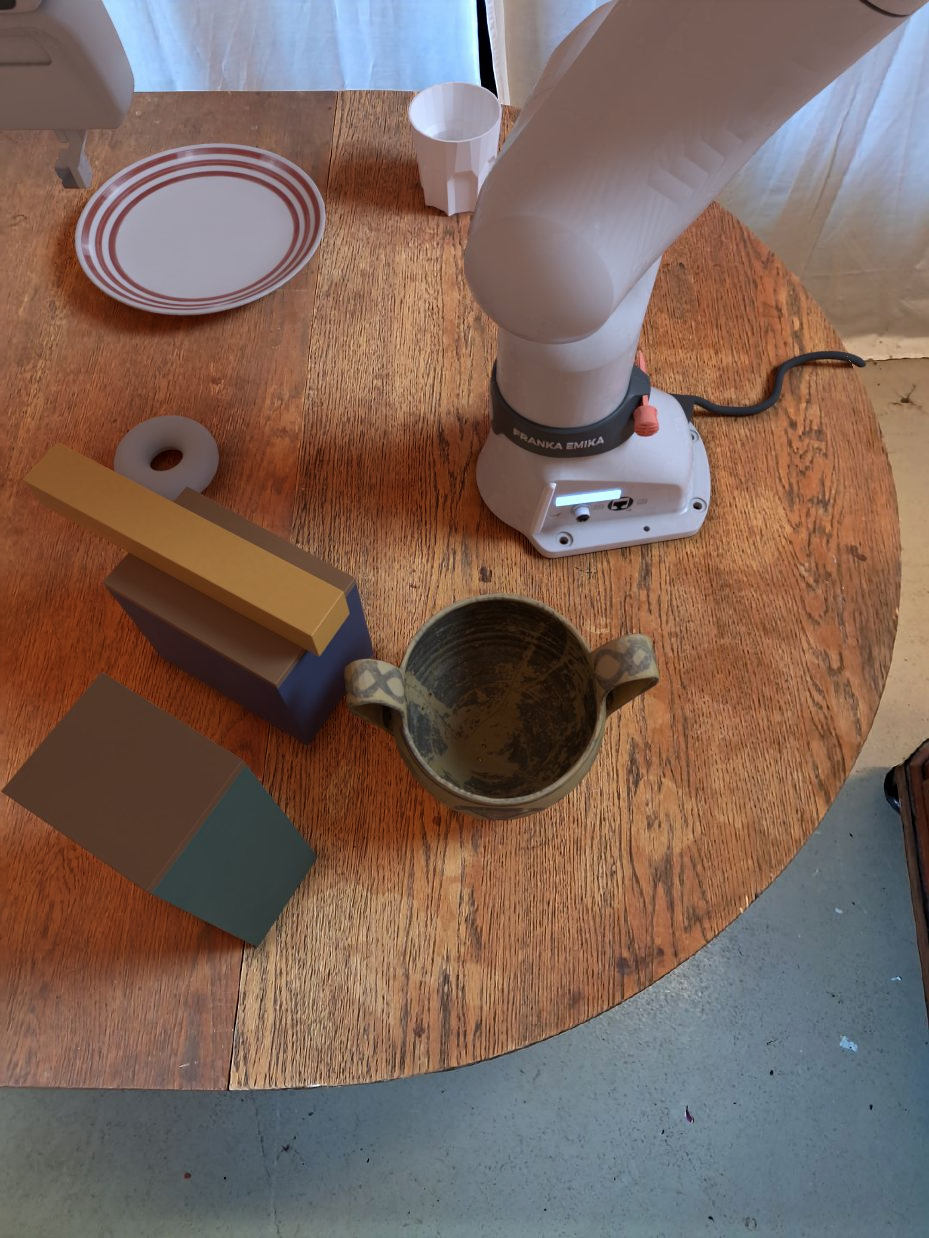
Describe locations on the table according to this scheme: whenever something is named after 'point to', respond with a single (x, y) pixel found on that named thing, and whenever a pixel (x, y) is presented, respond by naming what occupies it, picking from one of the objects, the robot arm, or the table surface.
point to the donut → (161, 437)
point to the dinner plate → (200, 229)
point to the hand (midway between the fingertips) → (7, 183)
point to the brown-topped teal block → (165, 810)
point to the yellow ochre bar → (189, 548)
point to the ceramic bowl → (500, 703)
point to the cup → (454, 142)
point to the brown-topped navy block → (244, 632)
